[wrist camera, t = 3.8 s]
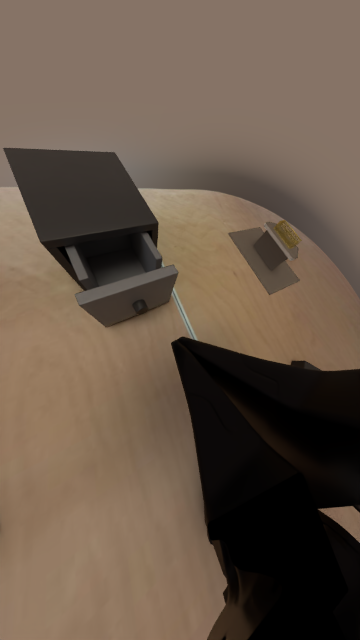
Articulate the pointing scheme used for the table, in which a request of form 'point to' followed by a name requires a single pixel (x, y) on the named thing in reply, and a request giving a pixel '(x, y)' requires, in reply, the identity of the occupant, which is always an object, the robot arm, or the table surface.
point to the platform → (269, 254)
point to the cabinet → (78, 198)
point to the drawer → (121, 276)
